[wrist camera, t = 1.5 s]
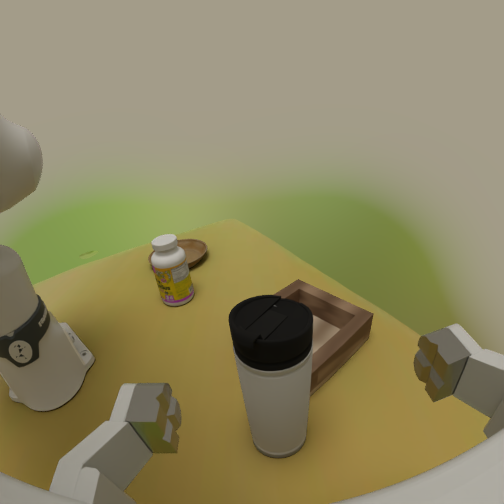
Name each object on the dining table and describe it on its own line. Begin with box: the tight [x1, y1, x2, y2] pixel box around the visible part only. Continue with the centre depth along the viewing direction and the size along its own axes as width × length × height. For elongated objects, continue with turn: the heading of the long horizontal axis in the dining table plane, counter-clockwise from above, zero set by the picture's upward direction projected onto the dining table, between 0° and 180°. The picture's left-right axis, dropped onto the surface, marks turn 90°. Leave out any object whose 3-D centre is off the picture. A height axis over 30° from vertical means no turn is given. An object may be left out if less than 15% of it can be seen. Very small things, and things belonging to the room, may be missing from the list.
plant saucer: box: [148, 239, 207, 268], centre depth 72 cm, size 15×15×3 cm
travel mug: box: [229, 295, 313, 458], centre depth 26 cm, size 6×7×20 cm
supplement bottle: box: [151, 234, 194, 306], centre depth 56 cm, size 7×7×13 cm
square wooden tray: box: [274, 279, 373, 396], centre depth 43 cm, size 15×15×5 cm
